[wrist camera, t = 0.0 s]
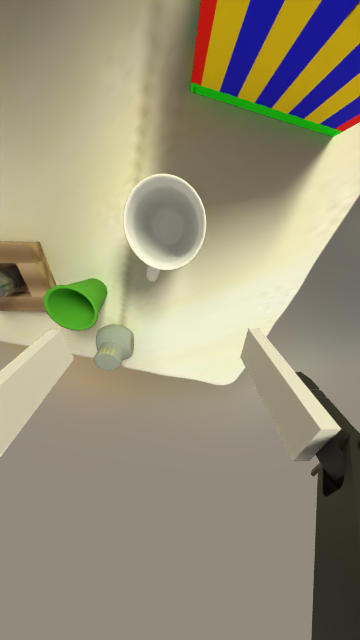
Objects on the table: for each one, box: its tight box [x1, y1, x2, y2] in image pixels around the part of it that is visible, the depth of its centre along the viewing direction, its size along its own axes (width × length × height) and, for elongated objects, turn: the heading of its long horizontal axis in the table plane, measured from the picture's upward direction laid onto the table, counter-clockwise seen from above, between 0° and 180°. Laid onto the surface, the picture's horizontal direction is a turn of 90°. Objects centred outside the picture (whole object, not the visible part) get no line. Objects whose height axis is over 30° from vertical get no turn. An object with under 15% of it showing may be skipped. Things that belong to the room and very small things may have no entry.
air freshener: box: [94, 325, 134, 371], centre depth 41 cm, size 11×8×10 cm
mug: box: [123, 174, 206, 282], centre depth 28 cm, size 15×11×13 cm
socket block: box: [0, 242, 56, 311], centre depth 35 cm, size 14×14×4 cm
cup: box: [44, 279, 107, 330], centre depth 34 cm, size 9×9×11 cm
